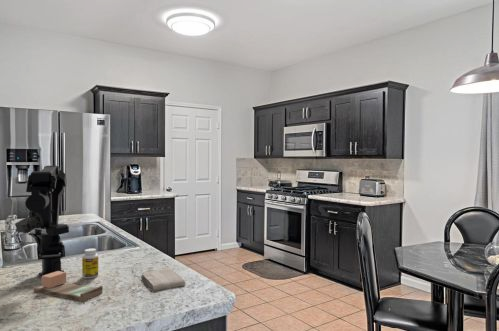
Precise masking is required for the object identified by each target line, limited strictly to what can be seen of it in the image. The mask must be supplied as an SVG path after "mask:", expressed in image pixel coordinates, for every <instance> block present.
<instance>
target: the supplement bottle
mask: <svg viewBox="0 0 499 331" xmlns="http://www.w3.org/2000/svg"><path fill="white" fill-rule="evenodd" d="M81 258H82V266H81V267H82V268H81V269H82V270H81V272H82V274H81V276H82V278H83V279H94V278H97V277H98V276H99V254H98V253H97V249H96V248H86V249H84V254H83V255H82V257H81Z"/></svg>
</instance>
